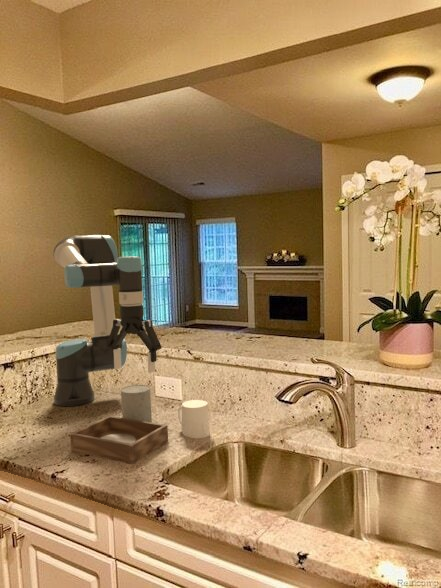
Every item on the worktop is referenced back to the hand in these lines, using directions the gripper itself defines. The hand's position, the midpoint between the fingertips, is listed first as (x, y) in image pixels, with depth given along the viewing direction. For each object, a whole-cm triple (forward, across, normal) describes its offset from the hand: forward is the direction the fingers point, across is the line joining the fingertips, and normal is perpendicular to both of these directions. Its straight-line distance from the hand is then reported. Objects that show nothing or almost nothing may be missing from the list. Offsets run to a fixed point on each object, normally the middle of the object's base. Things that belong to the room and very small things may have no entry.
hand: (134, 370), depth 160 cm
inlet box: (+18, +6, -16) cm, 25 cm away
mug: (+19, +20, +2) cm, 27 cm away
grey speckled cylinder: (+19, 0, 0) cm, 19 cm away
